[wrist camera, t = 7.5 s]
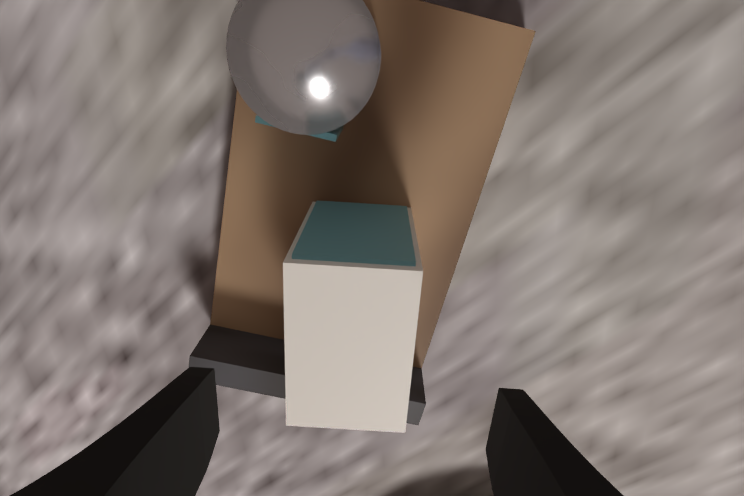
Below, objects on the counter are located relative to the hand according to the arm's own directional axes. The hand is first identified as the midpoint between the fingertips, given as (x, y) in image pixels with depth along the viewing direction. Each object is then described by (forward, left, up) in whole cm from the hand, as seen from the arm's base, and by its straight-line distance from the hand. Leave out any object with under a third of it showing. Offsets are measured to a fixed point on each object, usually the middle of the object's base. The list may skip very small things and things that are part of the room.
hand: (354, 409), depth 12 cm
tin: (+3, -8, -9) cm, 12 cm away
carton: (0, 0, -9) cm, 9 cm away
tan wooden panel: (+1, -2, -10) cm, 10 cm away
